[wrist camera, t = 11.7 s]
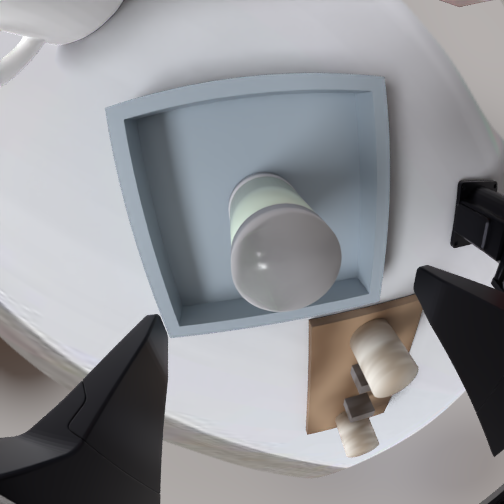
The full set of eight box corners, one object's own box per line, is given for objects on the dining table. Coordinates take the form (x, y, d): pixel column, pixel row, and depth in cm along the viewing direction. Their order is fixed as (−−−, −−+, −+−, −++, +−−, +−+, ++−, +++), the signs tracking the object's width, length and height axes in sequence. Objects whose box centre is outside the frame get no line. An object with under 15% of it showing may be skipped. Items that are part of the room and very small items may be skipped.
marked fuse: (294, 168, 17) (343, 206, 10) (298, 232, 19) (338, 302, 12) (223, 177, 17) (222, 222, 10) (233, 241, 19) (239, 318, 12)
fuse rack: (420, 292, 24) (459, 336, 18) (381, 407, 34) (397, 443, 28) (308, 319, 24) (332, 381, 17) (305, 429, 34) (316, 469, 27)
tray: (362, 81, 15) (384, 76, 13) (363, 281, 23) (379, 301, 20) (122, 109, 15) (105, 108, 12) (175, 312, 22) (170, 337, 19)
